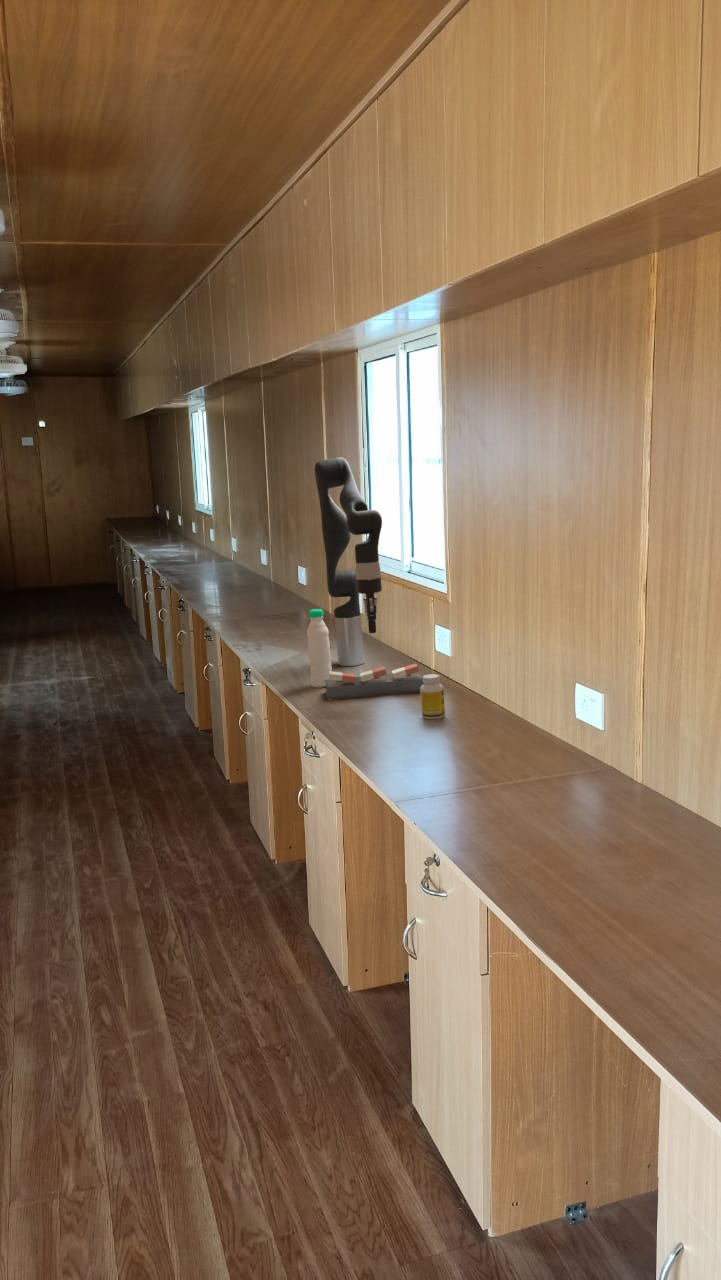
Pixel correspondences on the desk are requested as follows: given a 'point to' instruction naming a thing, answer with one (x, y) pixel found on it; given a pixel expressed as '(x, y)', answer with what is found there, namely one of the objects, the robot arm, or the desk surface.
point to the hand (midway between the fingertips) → (372, 632)
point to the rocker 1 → (341, 676)
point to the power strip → (374, 686)
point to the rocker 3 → (405, 671)
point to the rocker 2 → (373, 674)
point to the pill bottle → (432, 697)
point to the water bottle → (318, 649)
